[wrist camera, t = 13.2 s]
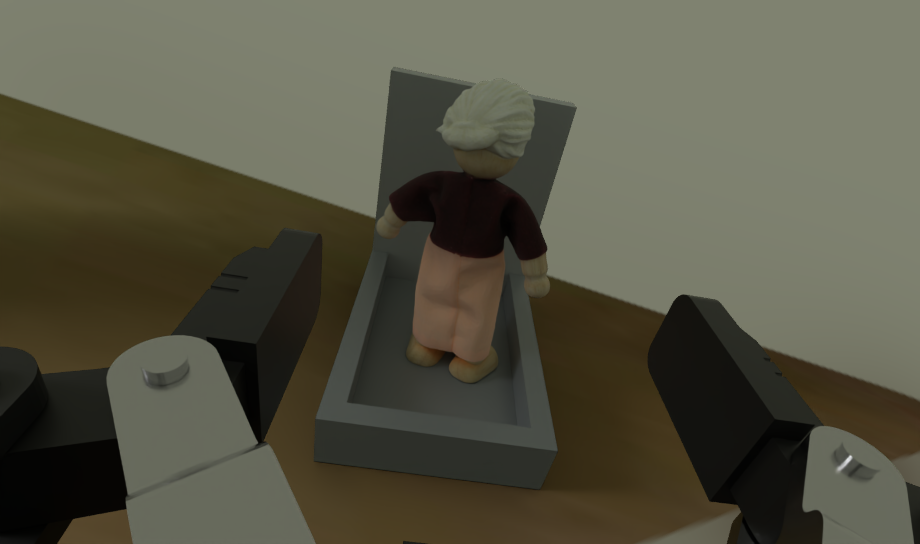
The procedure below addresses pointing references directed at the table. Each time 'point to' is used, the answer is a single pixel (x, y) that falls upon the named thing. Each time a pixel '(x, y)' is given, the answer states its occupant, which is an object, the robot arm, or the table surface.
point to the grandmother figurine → (470, 230)
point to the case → (434, 388)
